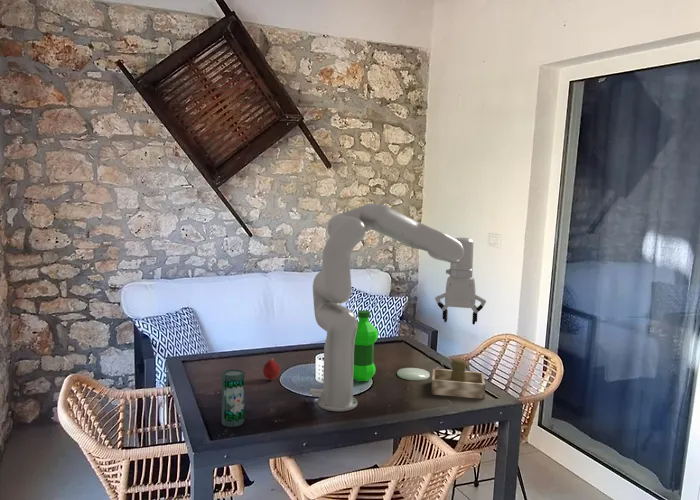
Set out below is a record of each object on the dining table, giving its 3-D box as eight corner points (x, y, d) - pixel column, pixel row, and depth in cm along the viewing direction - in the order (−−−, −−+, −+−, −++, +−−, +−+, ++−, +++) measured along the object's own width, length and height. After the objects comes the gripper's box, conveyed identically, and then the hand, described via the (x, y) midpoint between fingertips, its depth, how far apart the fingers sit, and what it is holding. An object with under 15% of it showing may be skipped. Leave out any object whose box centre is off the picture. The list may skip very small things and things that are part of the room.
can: (227, 428, 165) (227, 377, 163) (218, 420, 170) (219, 371, 168) (247, 423, 168) (247, 373, 166) (238, 416, 173) (238, 367, 171)
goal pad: (395, 378, 211) (395, 376, 211) (398, 368, 222) (398, 366, 222) (429, 381, 209) (429, 379, 209) (430, 371, 220) (430, 369, 220)
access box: (431, 394, 196) (432, 379, 196) (432, 381, 209) (433, 368, 208) (484, 399, 194) (485, 384, 193) (482, 386, 206) (483, 372, 205)
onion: (268, 384, 201) (268, 361, 200) (259, 379, 205) (260, 357, 204) (282, 381, 205) (283, 359, 204) (274, 376, 209) (274, 355, 208)
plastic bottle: (343, 382, 205) (346, 313, 202) (352, 373, 215) (354, 307, 212) (371, 386, 202) (373, 316, 199) (378, 376, 212) (381, 310, 209)
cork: (466, 394, 198) (468, 362, 196) (448, 392, 199) (449, 361, 198) (466, 388, 204) (468, 357, 202) (448, 386, 205) (450, 356, 203)
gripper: (434, 274, 197) (433, 323, 200) (486, 277, 192) (484, 327, 195) (437, 270, 204) (436, 318, 207) (487, 273, 200) (485, 321, 202)
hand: (459, 322), depth 201 cm, fingers open, 9 cm apart
